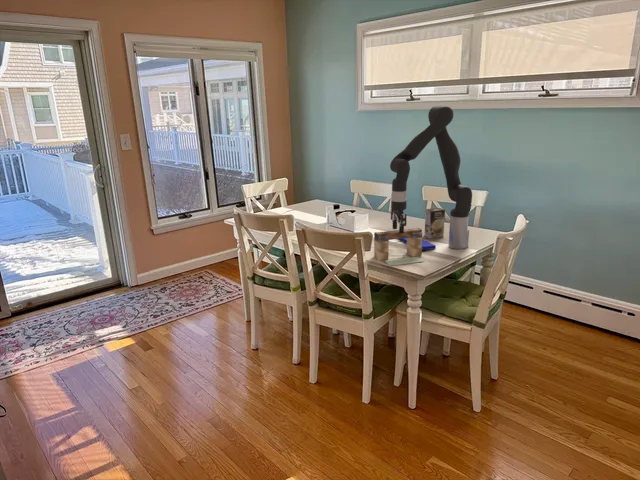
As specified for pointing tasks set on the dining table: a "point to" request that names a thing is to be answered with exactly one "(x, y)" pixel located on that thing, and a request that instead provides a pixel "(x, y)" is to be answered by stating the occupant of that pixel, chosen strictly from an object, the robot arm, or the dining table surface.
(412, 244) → the post
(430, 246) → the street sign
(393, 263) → the mat
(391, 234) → the rail
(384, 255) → the post
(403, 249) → the dining table surface
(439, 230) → the coffee box
